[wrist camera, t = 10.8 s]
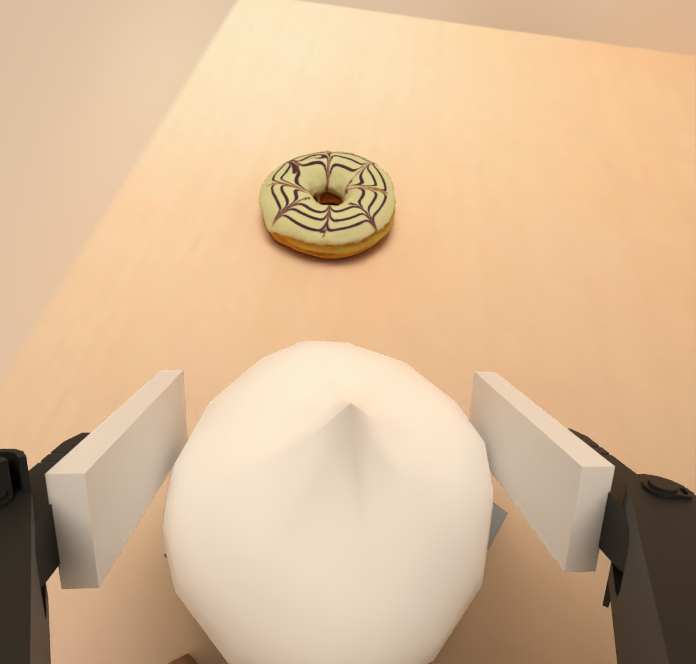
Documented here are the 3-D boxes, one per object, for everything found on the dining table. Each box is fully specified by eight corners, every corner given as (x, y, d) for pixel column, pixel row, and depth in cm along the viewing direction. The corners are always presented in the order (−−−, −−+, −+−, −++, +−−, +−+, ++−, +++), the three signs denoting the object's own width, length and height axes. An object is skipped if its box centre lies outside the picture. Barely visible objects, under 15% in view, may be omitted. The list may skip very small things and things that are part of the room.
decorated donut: (271, 175, 38) (267, 136, 35) (390, 183, 39) (396, 146, 36) (254, 262, 33) (247, 226, 30) (392, 271, 33) (400, 236, 30)
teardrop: (382, 764, 14) (571, 1210, 4) (128, 566, 16) (-171, 513, 6) (496, 470, 19) (702, 328, 9) (293, 353, 22) (278, 138, 12)
